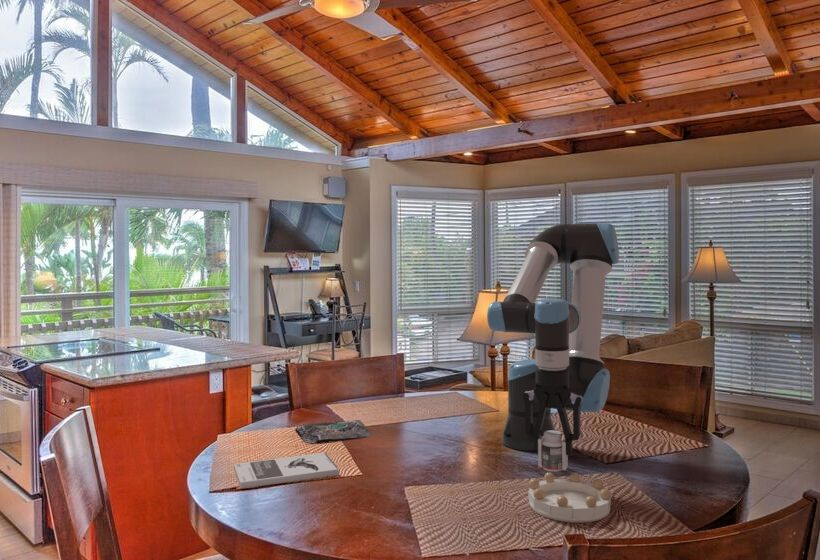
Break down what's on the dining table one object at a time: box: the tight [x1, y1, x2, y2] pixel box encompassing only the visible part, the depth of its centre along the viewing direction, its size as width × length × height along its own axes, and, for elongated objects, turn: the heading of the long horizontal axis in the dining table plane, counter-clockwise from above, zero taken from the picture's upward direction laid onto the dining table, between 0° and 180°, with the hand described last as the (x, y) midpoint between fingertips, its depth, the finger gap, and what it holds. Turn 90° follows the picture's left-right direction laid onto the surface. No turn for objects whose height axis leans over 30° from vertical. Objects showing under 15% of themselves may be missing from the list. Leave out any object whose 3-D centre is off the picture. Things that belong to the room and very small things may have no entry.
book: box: [233, 452, 340, 490], centre depth 154 cm, size 23×14×2 cm, turn 111°
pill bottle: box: [541, 430, 563, 472], centre depth 146 cm, size 5×5×8 cm
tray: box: [527, 471, 612, 524], centre depth 132 cm, size 17×17×5 cm
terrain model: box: [294, 419, 372, 445], centre depth 187 cm, size 20×15×3 cm
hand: (552, 466), depth 146 cm, fingers closed on pill bottle, 5 cm apart
